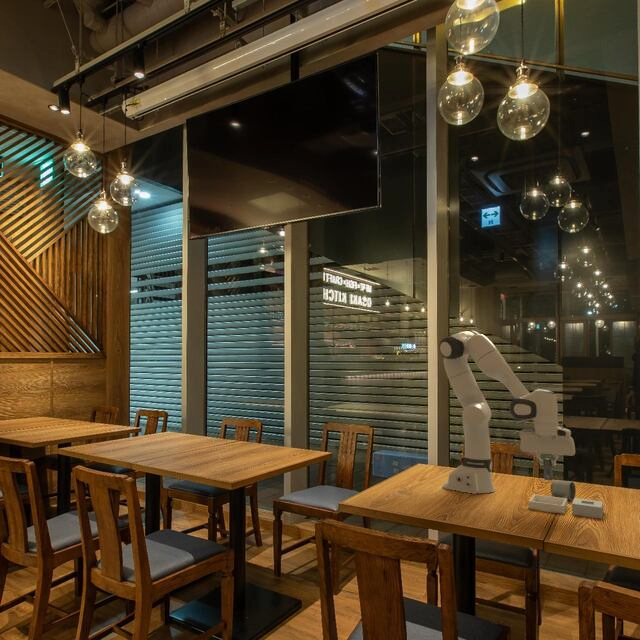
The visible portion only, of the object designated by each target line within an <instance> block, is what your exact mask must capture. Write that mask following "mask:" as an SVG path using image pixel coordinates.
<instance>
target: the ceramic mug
mask: <svg viewBox="0 0 640 640" xmlns="http://www.w3.org/2000/svg"><path fill="white" fill-rule="evenodd" d="M576 492H577V488H576V484H575V483H574V481H571V480H552V482H551V484H550V493H551V497H559V498H566V499H567V501H570V502H573V500H574V498H576V495H577V493H576Z"/></svg>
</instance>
